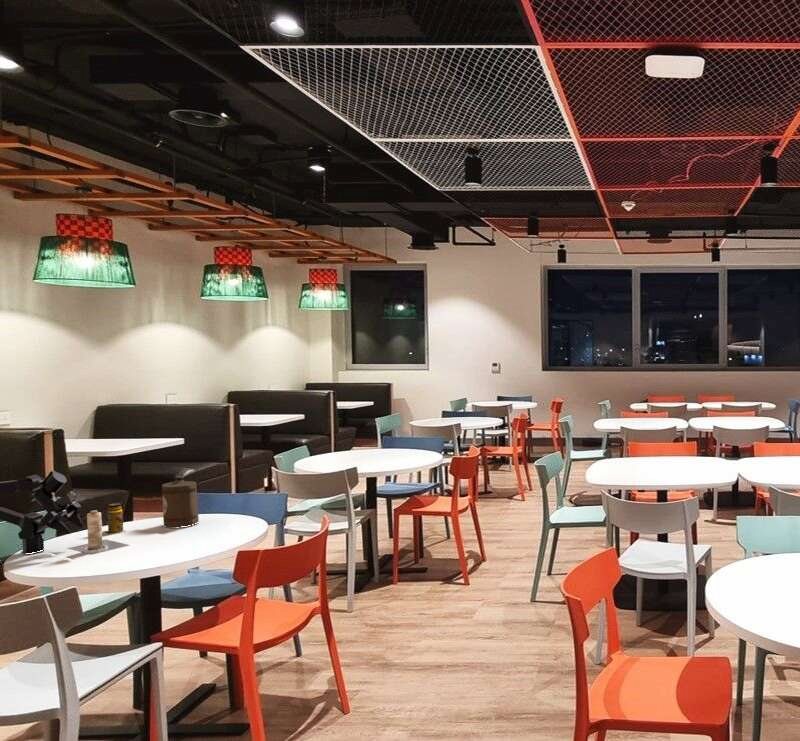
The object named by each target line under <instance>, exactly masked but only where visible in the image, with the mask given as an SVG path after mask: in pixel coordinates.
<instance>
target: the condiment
mask: <svg viewBox="0 0 800 741" xmlns="http://www.w3.org/2000/svg"><path fill="white" fill-rule="evenodd" d="M107 506H108V508H107V509H108V510H107V528H108V530H102V535H104V536H107V535H115V534H121V533H126V532H127V531H126V530H124V518H123V517H124V515H123V514H124V512H123V509H122V503H121V502H115V503H109V504H108V505H107ZM108 533H109V534H108Z"/></svg>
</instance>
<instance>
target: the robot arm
mask: <svg viewBox="0 0 800 741" xmlns="http://www.w3.org/2000/svg"><path fill="white" fill-rule="evenodd" d="M67 482H68V479H67V478H66V476H65V475H64V474H62V473H61V472H57V471H56V470H51V471H50V472H49V473H48V475H47V476H46V477H45V478H43V477H41V476H40V475H37V474H34V475H30V476H26V477H23V478H19V479H16V480H6V481H0V493H3V492H13V491H16V492H20V493H30V492H34V491H35V492H34V493H31V494H29V500H28V501H29V503H31V502H35V501H36V502H37V503H38V504H39V505H40V506H41V507H42V509H41V511H42V512H46V513H45V515H44V514H42V513H41V514H40V513H38V512H36V511H32V512H29V513H26V514H24V513H21V512H17V511H15V510H12V509H9V508H6V507H3V506H0V521H3V522H6V523H8V524H12V525H15V526H17V527H19V529H20V531H19V532H18V534H17V536H18V538H19V540H22V544H21V545H22V550H21V551H20V554H23V553H32V552H37V551H40V550H43V551H44V550H45V542H44V538H43V535H44V534H45V532H46V529H47V528H48V529H51V530H55V531H58V532H62V533H65V534H70V533H71V531H70V530H69V528H68V527H67V526H66V524H65V523H64V522H63V521H62V517H64V518H65V519H66V521H68V522H70V523H72V524H73V525H75V526H76V527H78V528H81V529H83V528H84V526H85V524H84V522H83V521H82V518H81V516H80V511H81V507H82V505H81V504H80V503H79V502H76V501H77V494H76V493H75V492H73V491H69V492H67V493H66V494H65V495H63V496H62V497H61V496H57V497H56V496H55V495H54V493H55V494H56V493H57V492H58V491H60V489H61V488H62V487H63V486H64V485H65V484H66V483H67ZM72 502H73V503H72ZM70 503H71V504H70ZM44 552H45V551H44Z"/></svg>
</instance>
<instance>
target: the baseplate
mask: <svg viewBox="0 0 800 741" xmlns="http://www.w3.org/2000/svg"><path fill="white" fill-rule="evenodd" d="M102 543H103V549H99V550H89V549H88V543H84V544H80V545H74V546H71V547H68V548H67V549H69V550H73V551H76V552H79V553H83V554H87V555H96V554H100V553H104V552H108V551H112V550H117V549H121V548H124V547H125V548H126V547H128V546H130V544H128V543H123V542H119V541H115V540H109V539H107V538H105V539H102Z"/></svg>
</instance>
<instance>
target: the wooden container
mask: <svg viewBox="0 0 800 741" xmlns="http://www.w3.org/2000/svg"><path fill="white" fill-rule="evenodd" d="M161 488H162V516H163V517H162V519H163V527H164V526H166V527H181V526H188V525H192V524H195V523H197V522H198V521H199V505H198V504H199V502H198V486H197V482H196V481H193V480H192V481H191V480H190V481H189V480H184V476H183V475H182V474H177V475H175V480H174V481H171V482H166V483H163V484H162V486H161ZM166 527H165V528H166Z"/></svg>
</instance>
